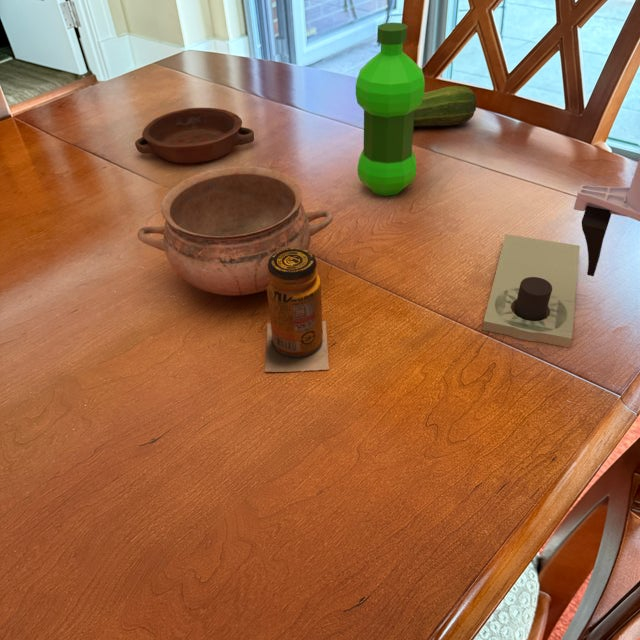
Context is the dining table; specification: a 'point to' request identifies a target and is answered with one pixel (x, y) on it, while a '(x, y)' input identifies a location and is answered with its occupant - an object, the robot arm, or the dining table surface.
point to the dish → (194, 135)
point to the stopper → (533, 299)
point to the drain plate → (542, 262)
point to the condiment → (295, 314)
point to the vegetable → (445, 107)
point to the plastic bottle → (389, 113)
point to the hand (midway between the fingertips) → (629, 279)
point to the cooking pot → (232, 227)
